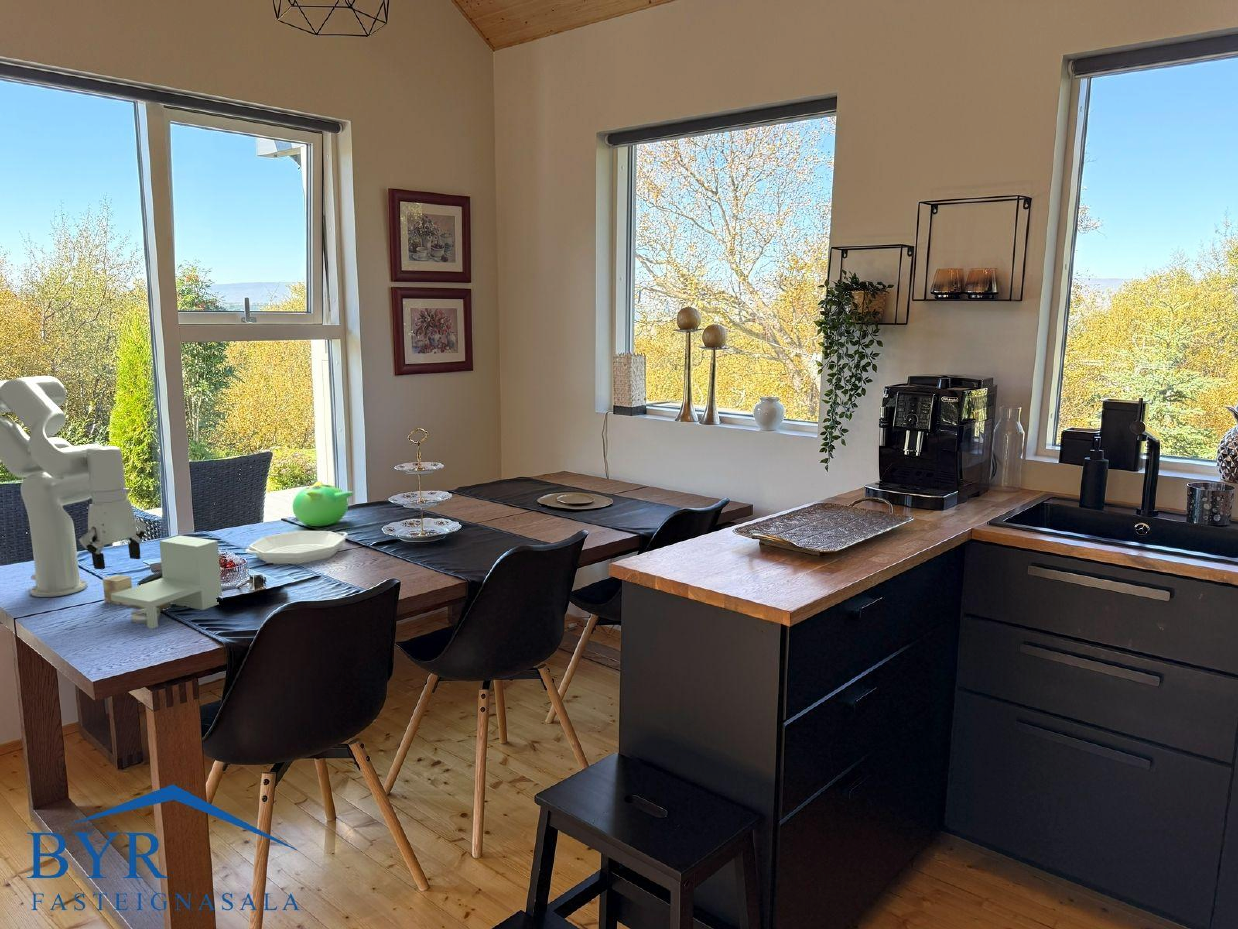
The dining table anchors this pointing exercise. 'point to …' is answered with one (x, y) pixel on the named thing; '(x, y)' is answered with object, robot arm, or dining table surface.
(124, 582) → the wooden mallet tool
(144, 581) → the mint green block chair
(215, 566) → the pale green shelf block
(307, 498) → the green teapot
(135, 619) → the steel token
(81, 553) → the dining table surface
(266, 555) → the pan
